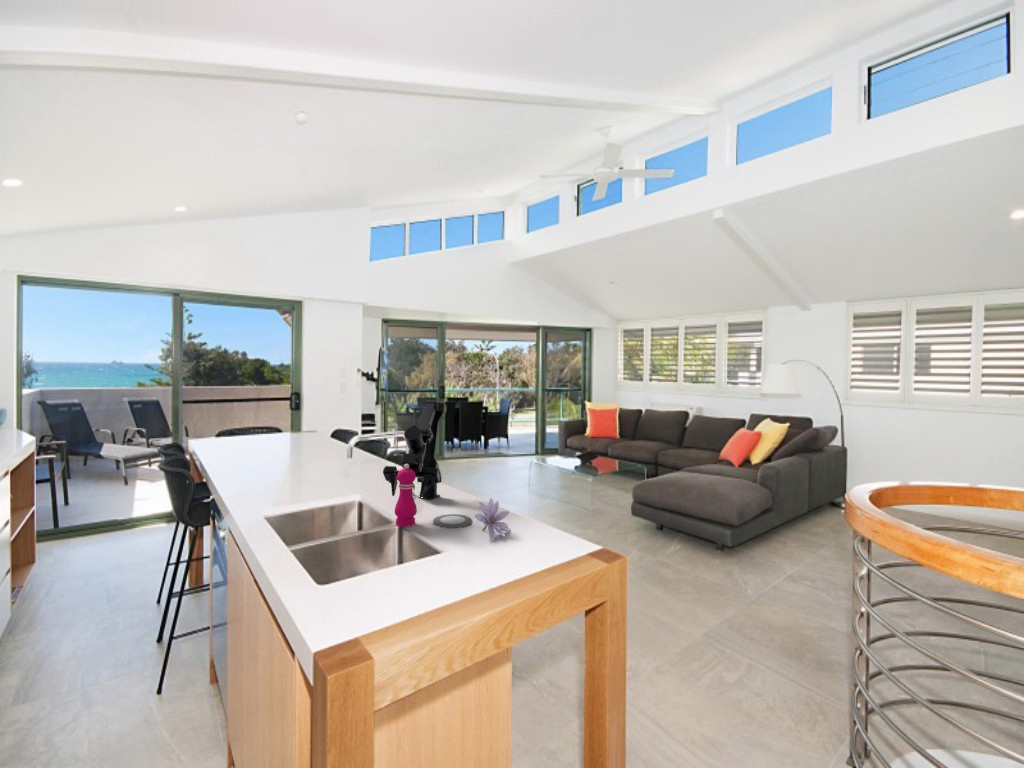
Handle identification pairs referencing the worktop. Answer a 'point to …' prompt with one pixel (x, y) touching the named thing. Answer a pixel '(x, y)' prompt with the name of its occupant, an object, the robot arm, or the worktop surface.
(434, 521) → the mat
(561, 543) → the worktop surface
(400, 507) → the pepper mill
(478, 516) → the water lily
